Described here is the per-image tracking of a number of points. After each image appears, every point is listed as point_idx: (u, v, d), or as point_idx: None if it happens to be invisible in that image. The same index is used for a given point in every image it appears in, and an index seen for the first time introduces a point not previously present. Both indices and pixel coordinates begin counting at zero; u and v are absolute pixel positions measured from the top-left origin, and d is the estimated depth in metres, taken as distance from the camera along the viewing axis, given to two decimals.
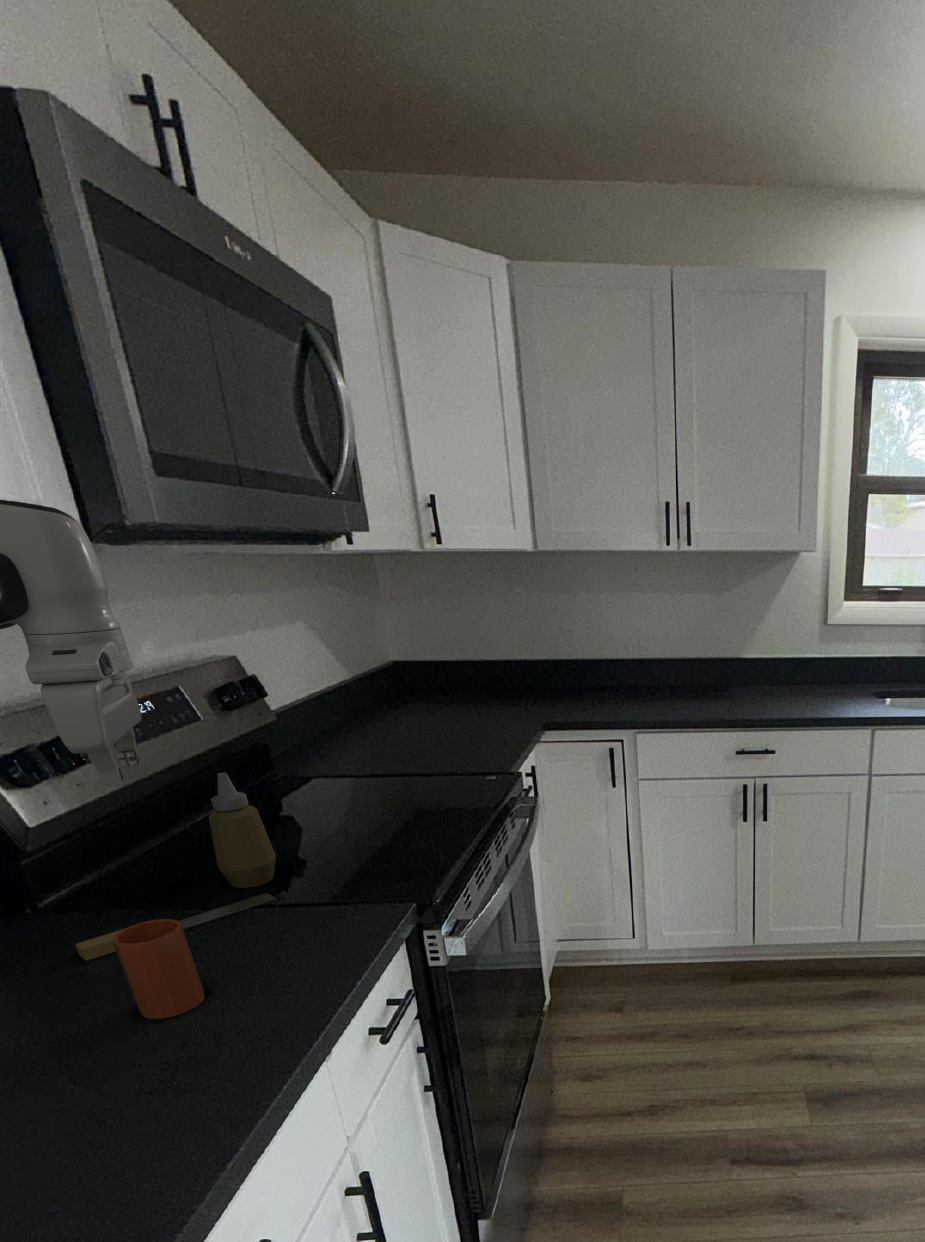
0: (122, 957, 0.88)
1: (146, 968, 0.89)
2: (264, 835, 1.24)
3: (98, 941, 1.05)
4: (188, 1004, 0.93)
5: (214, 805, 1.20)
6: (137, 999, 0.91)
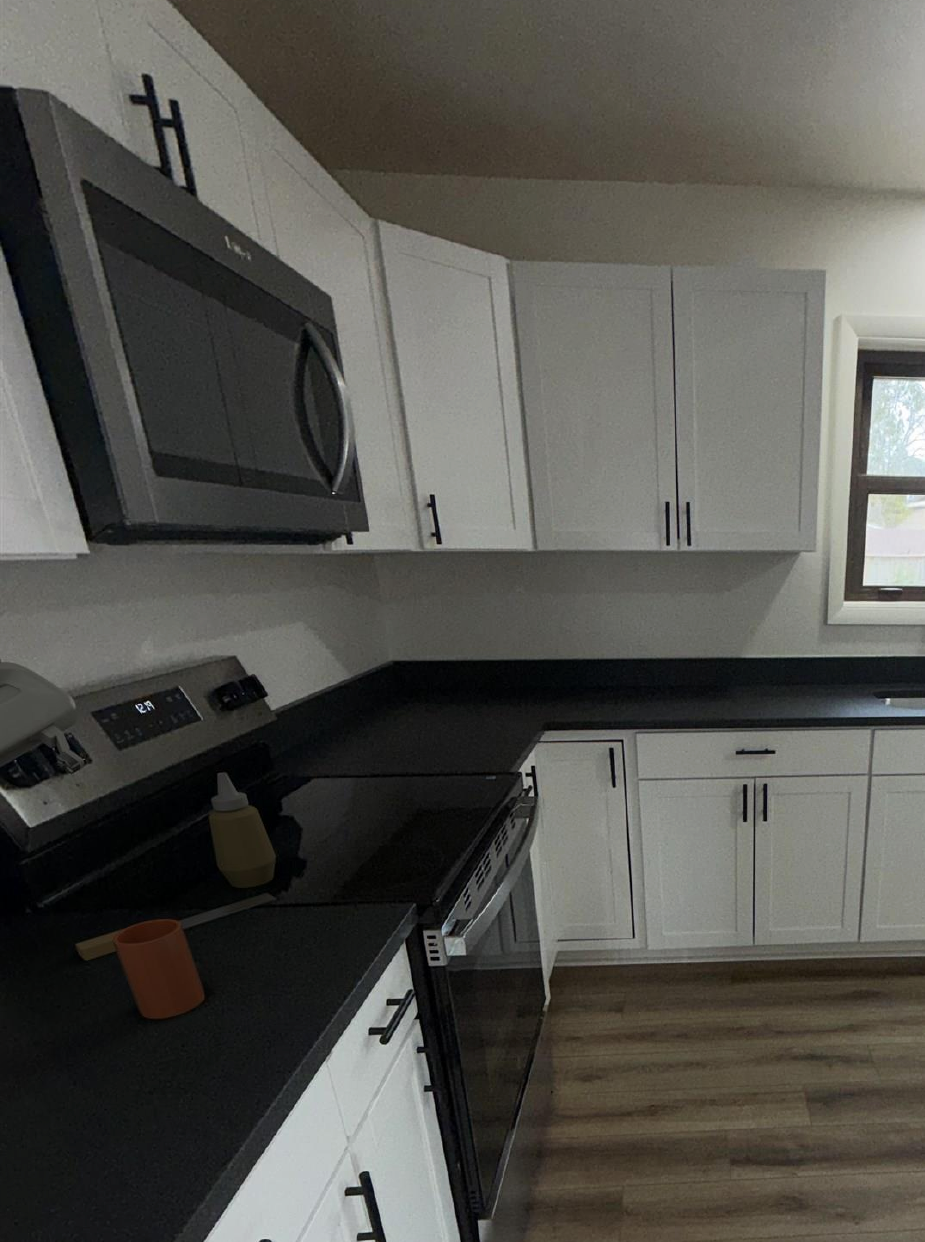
0: (122, 957, 0.88)
1: (146, 968, 0.89)
2: (264, 835, 1.24)
3: (98, 941, 1.05)
4: (188, 1004, 0.93)
5: (214, 805, 1.20)
6: (137, 999, 0.91)
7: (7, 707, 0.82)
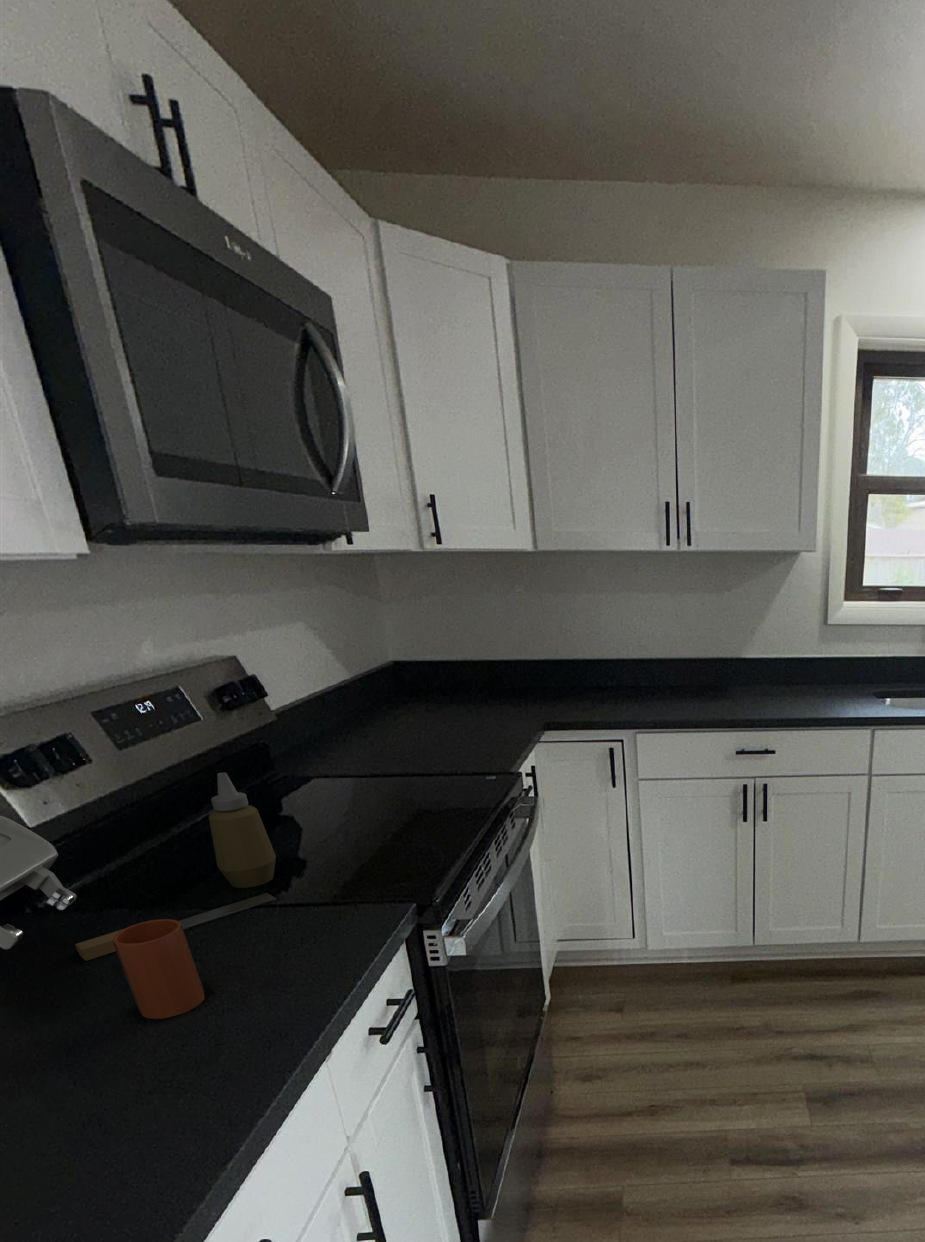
0: (122, 957, 0.88)
1: (146, 968, 0.89)
2: (264, 835, 1.24)
3: (98, 941, 1.05)
4: (188, 1004, 0.93)
5: (214, 805, 1.20)
6: (137, 999, 0.91)
7: (5, 850, 0.87)
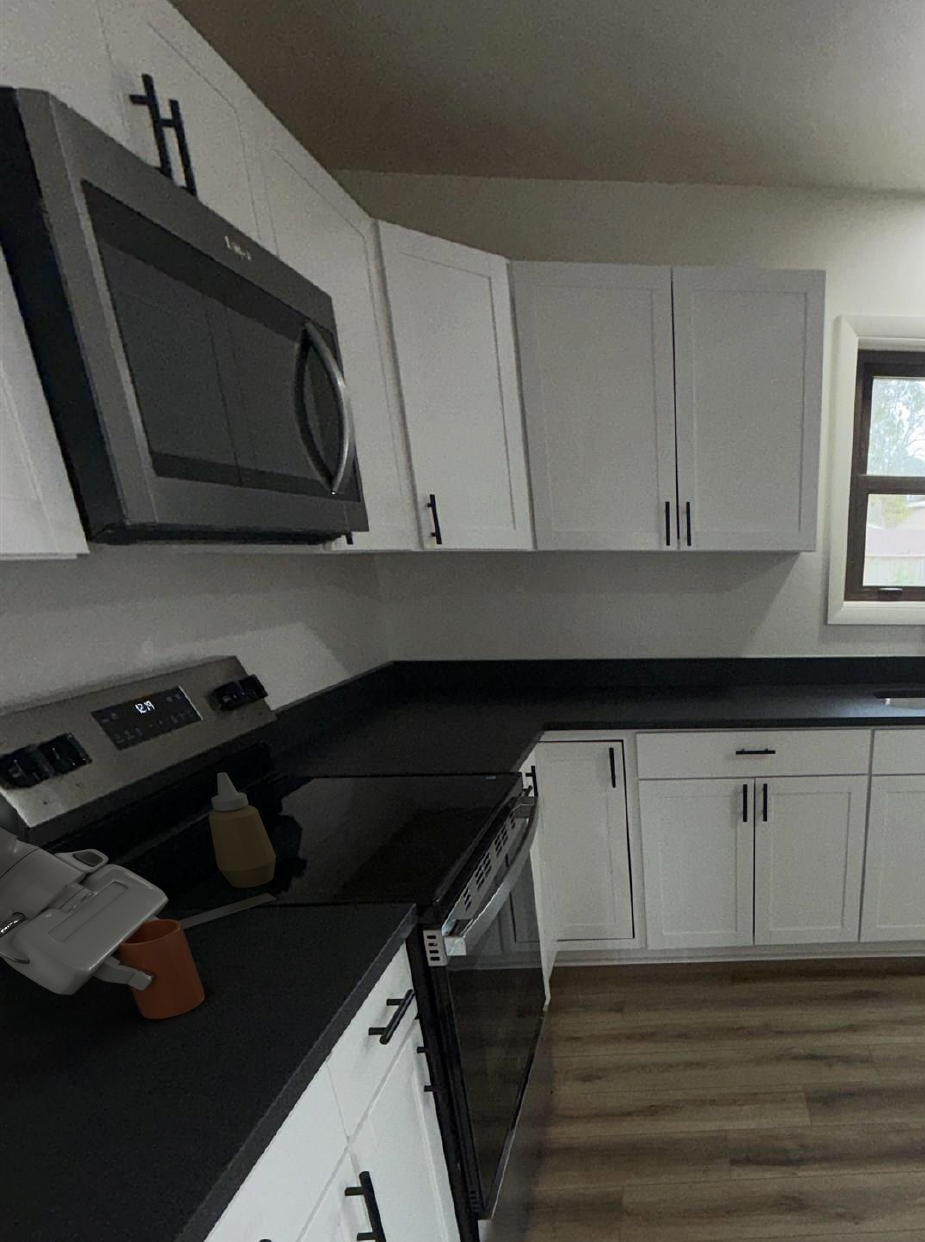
0: (122, 957, 0.88)
1: (146, 968, 0.89)
2: (264, 835, 1.24)
3: None
4: (189, 1004, 0.93)
5: (214, 805, 1.20)
6: (137, 999, 0.91)
7: (125, 898, 0.93)
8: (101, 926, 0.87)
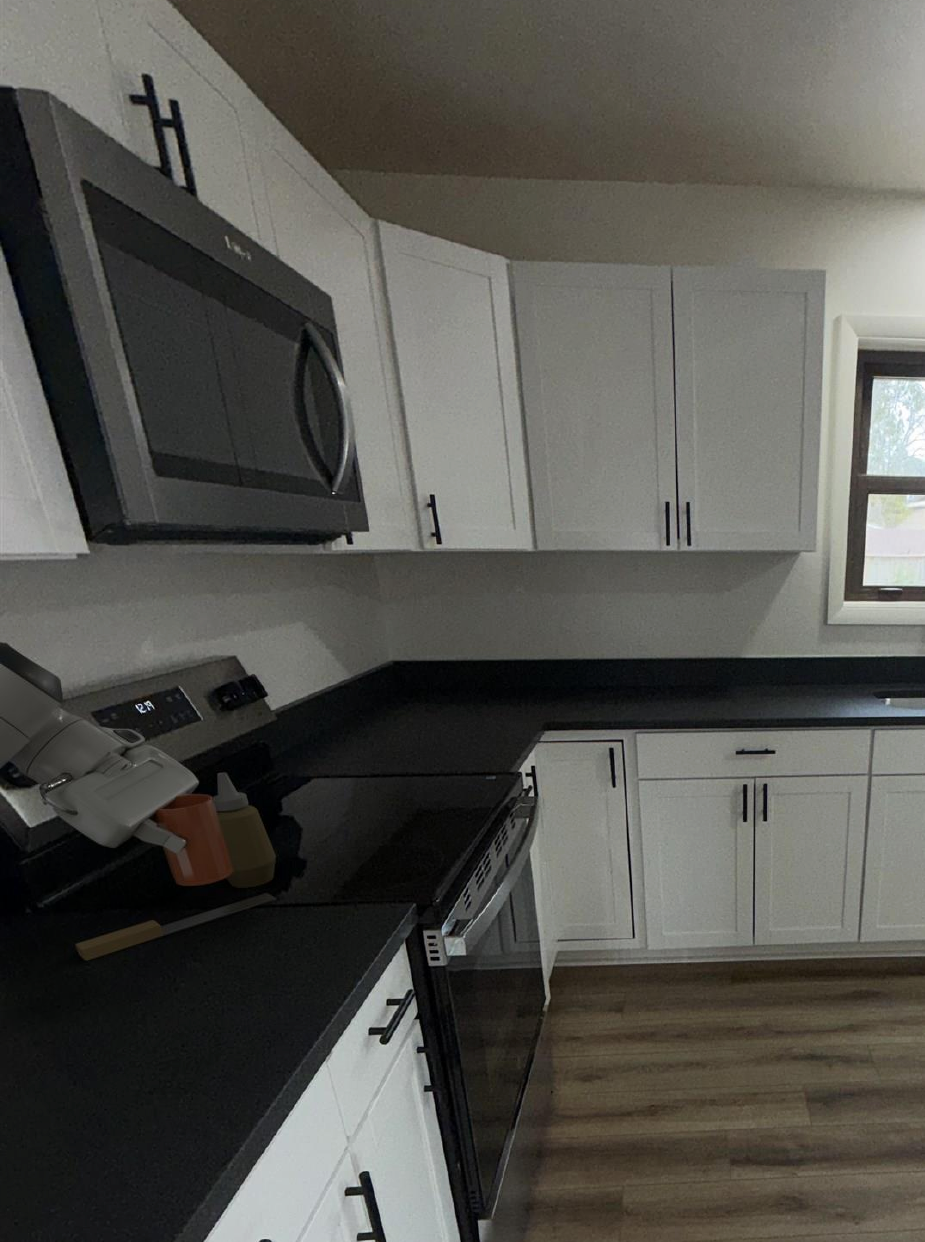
0: (159, 822, 0.96)
1: (180, 833, 0.96)
2: (264, 835, 1.24)
3: (98, 941, 1.05)
4: (218, 871, 1.00)
5: None
6: (172, 864, 0.98)
7: (160, 774, 1.00)
8: (139, 793, 0.95)
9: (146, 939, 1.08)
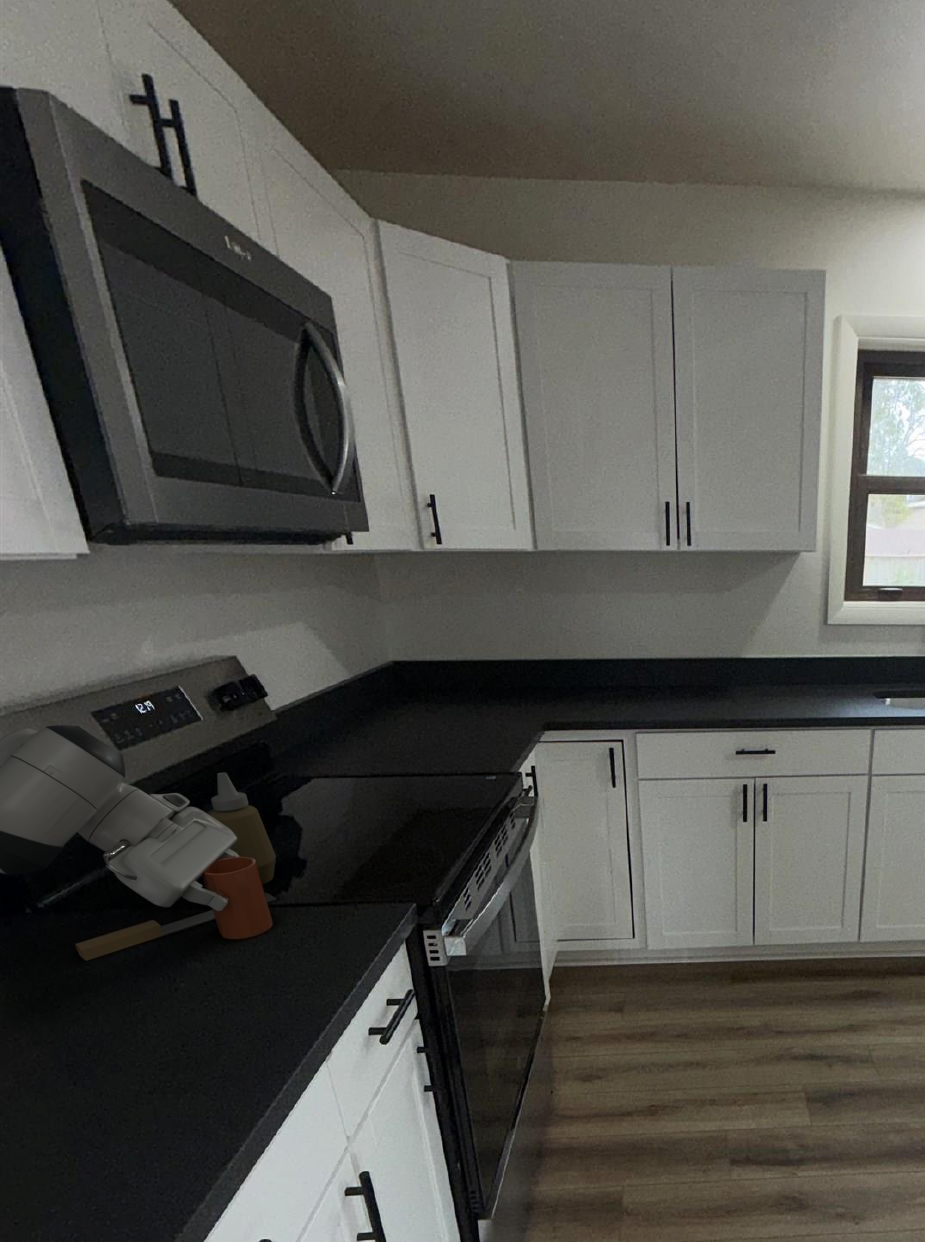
0: (209, 885, 1.06)
1: (228, 895, 1.06)
2: (264, 835, 1.24)
3: (98, 941, 1.05)
4: (261, 927, 1.10)
5: (214, 805, 1.20)
6: (219, 922, 1.08)
7: (204, 835, 1.10)
8: (188, 854, 1.05)
9: (146, 939, 1.08)
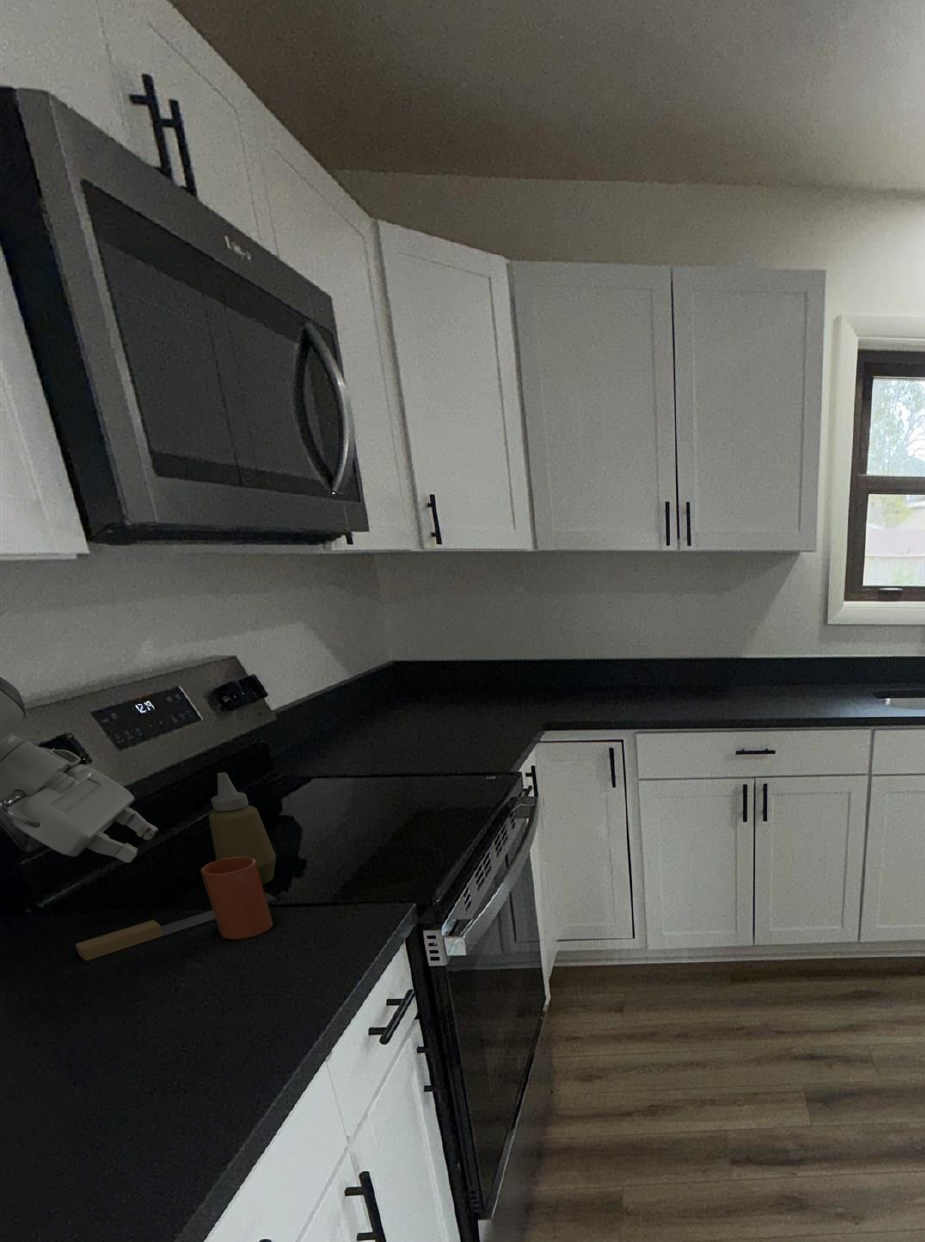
0: (209, 885, 1.06)
1: (228, 895, 1.06)
2: (264, 835, 1.24)
3: (98, 941, 1.05)
4: (261, 927, 1.10)
5: (214, 805, 1.20)
6: (219, 922, 1.08)
7: (101, 791, 1.07)
8: (89, 807, 1.02)
9: (146, 939, 1.08)
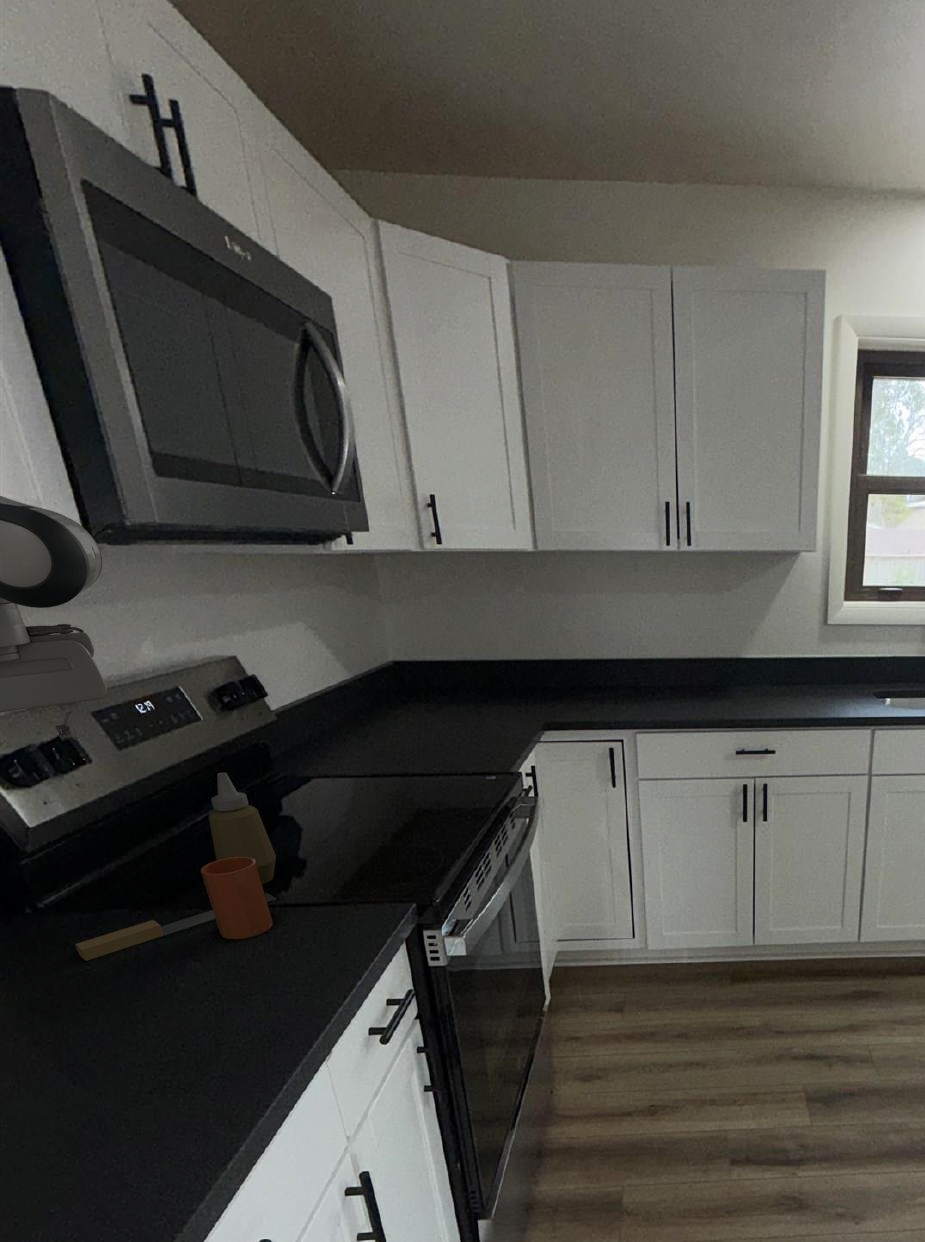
0: (209, 885, 1.06)
1: (228, 895, 1.06)
2: (264, 835, 1.24)
3: (98, 941, 1.05)
4: (261, 927, 1.10)
5: (214, 805, 1.20)
6: (219, 922, 1.08)
7: None
8: None
9: (146, 939, 1.08)
